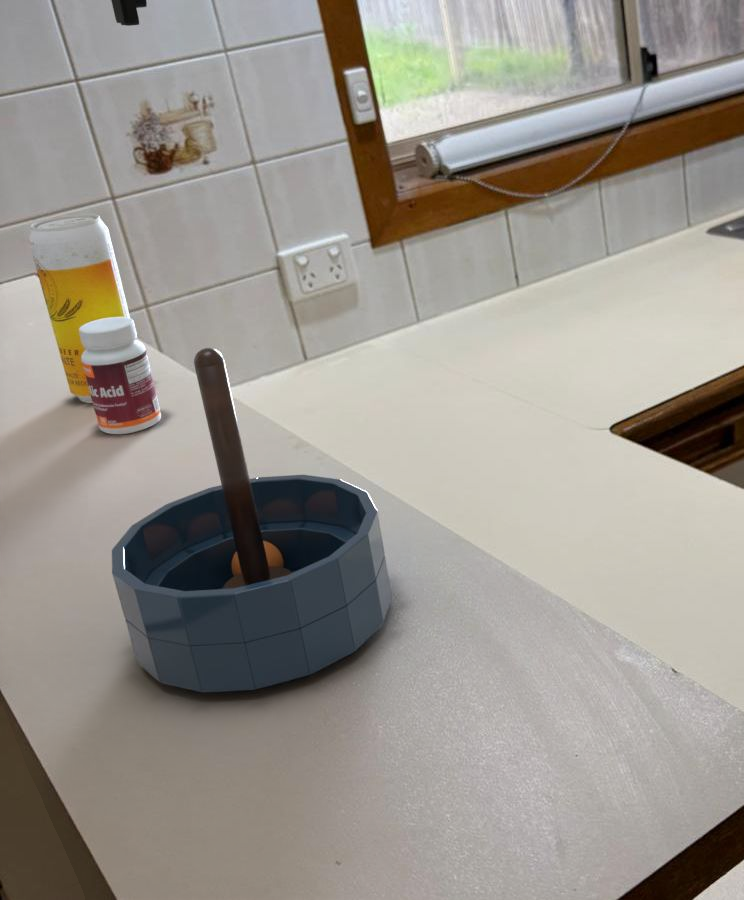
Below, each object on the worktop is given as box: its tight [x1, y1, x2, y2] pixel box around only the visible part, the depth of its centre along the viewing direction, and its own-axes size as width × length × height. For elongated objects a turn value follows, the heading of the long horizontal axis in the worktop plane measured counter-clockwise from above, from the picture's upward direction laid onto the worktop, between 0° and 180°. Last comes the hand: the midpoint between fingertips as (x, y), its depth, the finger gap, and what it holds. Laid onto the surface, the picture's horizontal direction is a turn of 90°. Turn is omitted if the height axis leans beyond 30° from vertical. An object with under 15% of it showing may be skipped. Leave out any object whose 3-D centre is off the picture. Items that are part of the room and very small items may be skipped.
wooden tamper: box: [193, 347, 292, 589], centre depth 58 cm, size 4×4×15 cm
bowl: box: [111, 474, 393, 693], centre depth 60 cm, size 13×13×6 cm
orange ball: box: [231, 541, 284, 576], centre depth 64 cm, size 3×3×3 cm
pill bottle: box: [79, 317, 162, 435], centre depth 90 cm, size 5×5×8 cm
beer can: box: [28, 213, 131, 404], centre depth 96 cm, size 6×6×15 cm
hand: (29, 33), depth 58 cm, fingers open, 9 cm apart
